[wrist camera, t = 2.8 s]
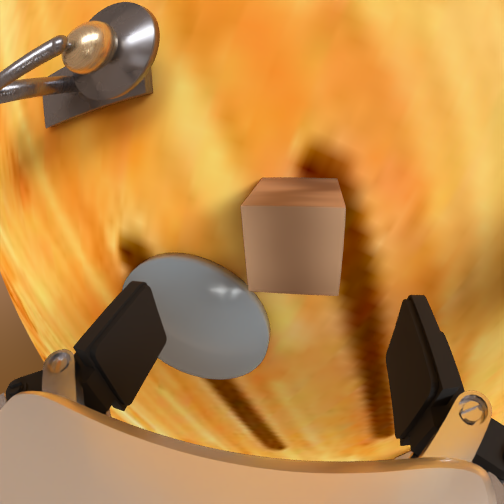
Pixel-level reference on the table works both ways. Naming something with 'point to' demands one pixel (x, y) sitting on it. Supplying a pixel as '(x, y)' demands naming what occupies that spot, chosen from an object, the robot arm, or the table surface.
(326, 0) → the table surface
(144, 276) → the dish
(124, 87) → the balance
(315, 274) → the walnut block
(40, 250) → the table surface
